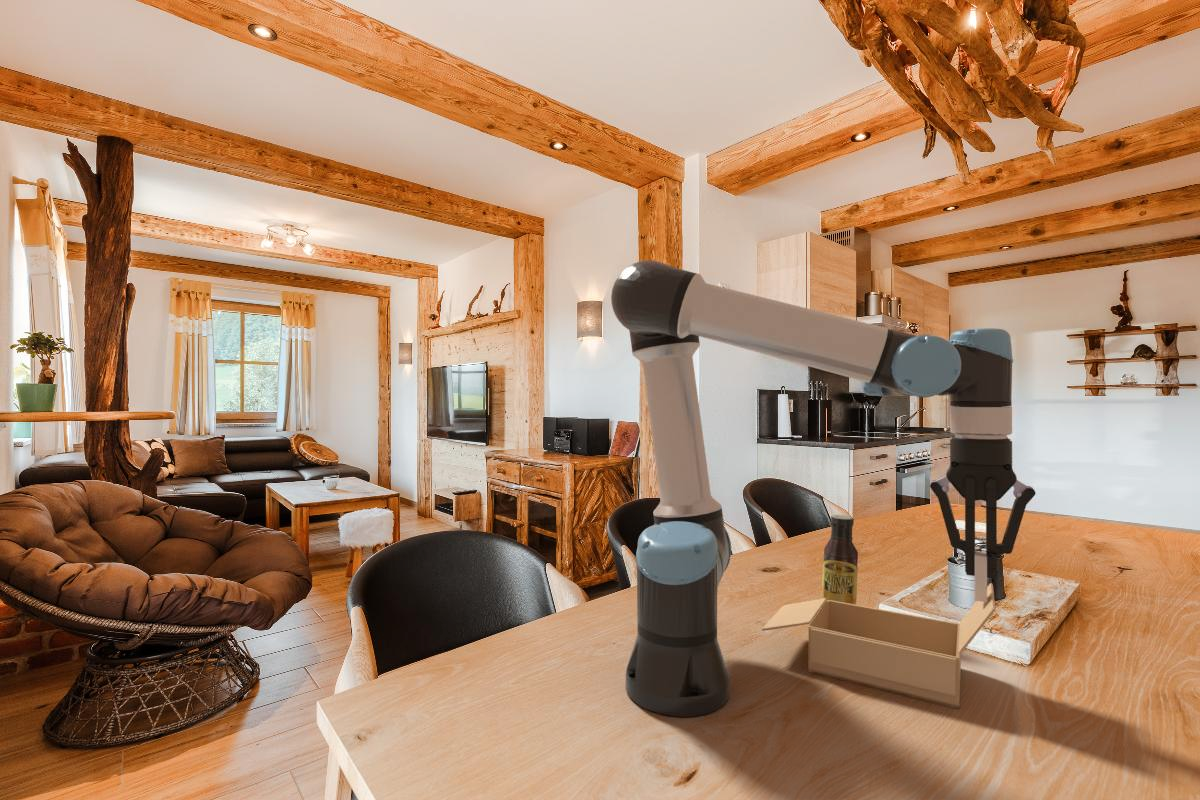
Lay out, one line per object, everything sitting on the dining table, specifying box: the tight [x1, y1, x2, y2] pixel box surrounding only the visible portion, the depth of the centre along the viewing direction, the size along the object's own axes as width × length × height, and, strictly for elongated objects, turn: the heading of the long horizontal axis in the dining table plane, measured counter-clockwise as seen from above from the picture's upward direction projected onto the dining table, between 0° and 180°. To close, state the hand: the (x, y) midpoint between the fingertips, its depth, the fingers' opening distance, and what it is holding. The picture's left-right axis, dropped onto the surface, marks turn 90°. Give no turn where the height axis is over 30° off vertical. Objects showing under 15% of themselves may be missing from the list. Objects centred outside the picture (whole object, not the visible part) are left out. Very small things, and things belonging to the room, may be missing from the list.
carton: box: [807, 600, 962, 710], centre depth 90 cm, size 15×20×7 cm
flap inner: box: [761, 598, 827, 632], centre depth 98 cm, size 13×1×8 cm
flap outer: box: [958, 582, 996, 655], centre depth 84 cm, size 13×1×8 cm, turn 147°
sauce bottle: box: [820, 514, 859, 608], centre depth 111 cm, size 6×6×20 cm
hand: (980, 598), depth 84 cm, fingers closed
